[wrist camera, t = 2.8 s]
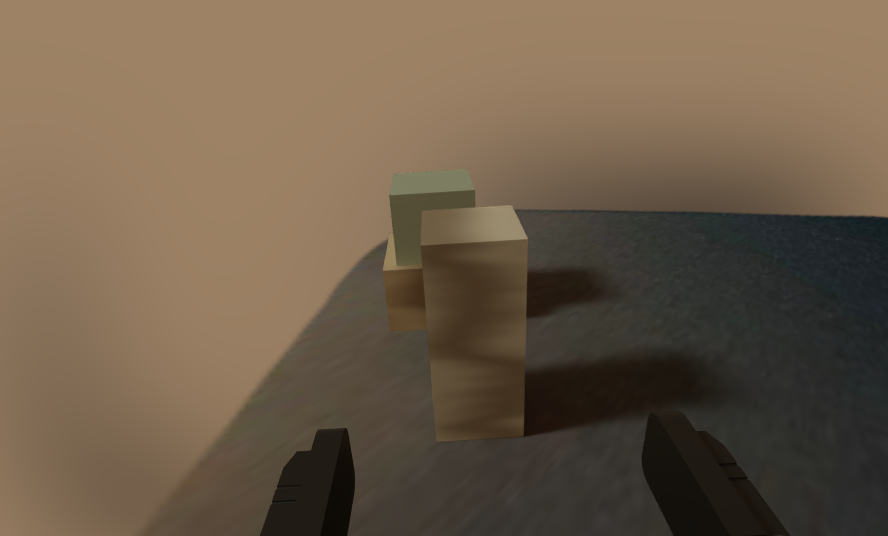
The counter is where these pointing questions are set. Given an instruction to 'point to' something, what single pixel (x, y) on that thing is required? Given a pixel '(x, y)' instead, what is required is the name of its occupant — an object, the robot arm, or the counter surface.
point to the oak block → (404, 293)
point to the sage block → (424, 205)
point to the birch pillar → (476, 320)
